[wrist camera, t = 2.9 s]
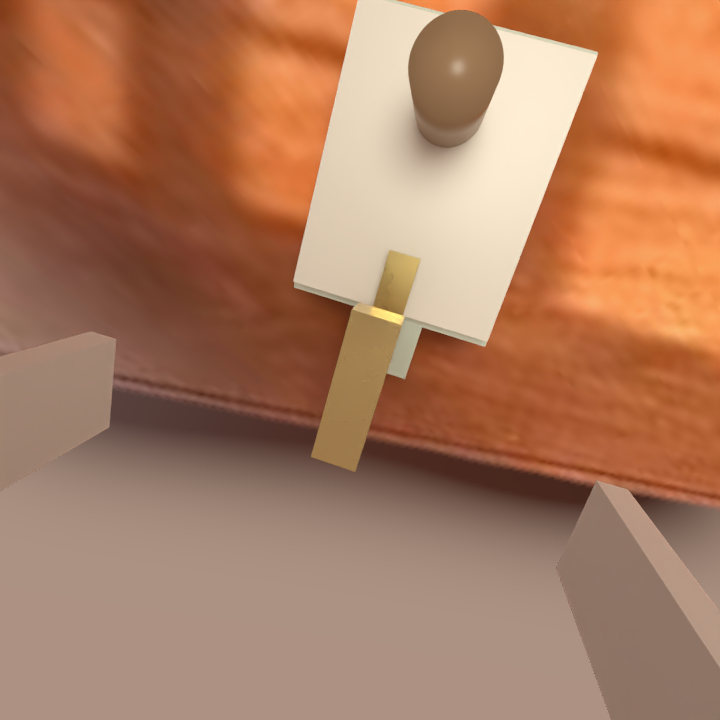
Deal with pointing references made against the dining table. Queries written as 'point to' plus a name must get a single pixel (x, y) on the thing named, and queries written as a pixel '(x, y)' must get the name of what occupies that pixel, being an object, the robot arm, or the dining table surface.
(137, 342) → the dining table surface
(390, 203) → the cover
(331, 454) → the t key
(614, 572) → the robot arm
